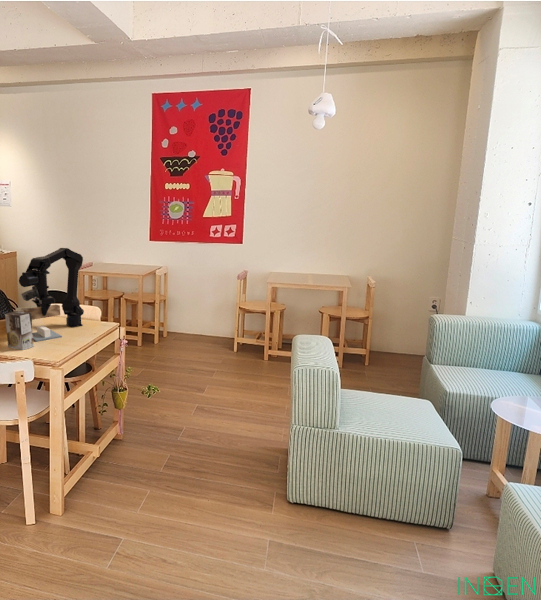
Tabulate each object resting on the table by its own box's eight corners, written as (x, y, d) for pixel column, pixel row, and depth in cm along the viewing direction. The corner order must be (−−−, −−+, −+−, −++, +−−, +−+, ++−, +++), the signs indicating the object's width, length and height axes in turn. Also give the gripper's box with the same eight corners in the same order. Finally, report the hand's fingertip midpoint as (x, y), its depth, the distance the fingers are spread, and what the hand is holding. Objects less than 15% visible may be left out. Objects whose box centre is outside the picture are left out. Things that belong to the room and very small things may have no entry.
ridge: (50, 331, 229) (50, 323, 228) (61, 337, 219) (61, 328, 219) (25, 335, 220) (25, 326, 219) (36, 341, 211) (35, 332, 210)
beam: (56, 314, 225) (56, 304, 224) (60, 315, 223) (59, 305, 222) (24, 319, 213) (23, 309, 212) (27, 320, 211) (26, 310, 210)
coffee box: (34, 346, 204) (32, 312, 201) (22, 350, 198) (20, 315, 195) (19, 343, 207) (16, 310, 204) (7, 347, 201) (4, 313, 198)
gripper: (15, 282, 215) (18, 313, 218) (29, 288, 203) (32, 321, 206) (39, 280, 223) (41, 310, 226) (54, 286, 211) (56, 317, 214)
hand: (42, 315), depth 218 cm, fingers closed on beam, 4 cm apart
